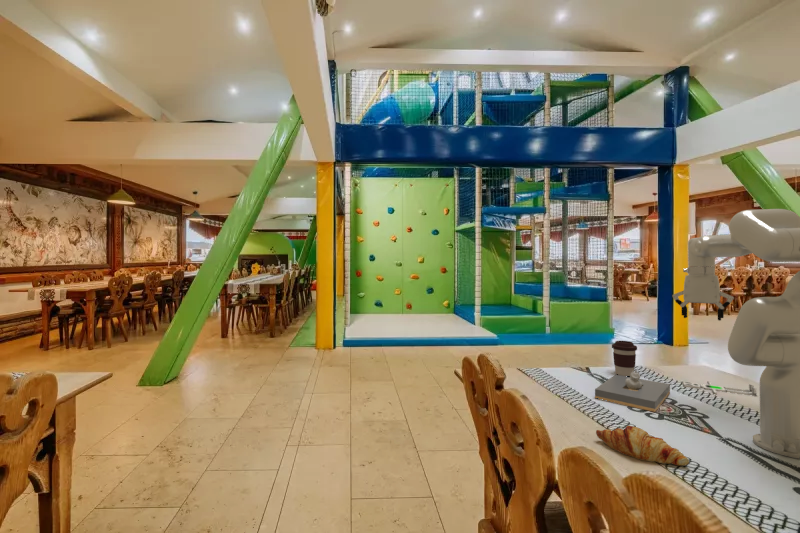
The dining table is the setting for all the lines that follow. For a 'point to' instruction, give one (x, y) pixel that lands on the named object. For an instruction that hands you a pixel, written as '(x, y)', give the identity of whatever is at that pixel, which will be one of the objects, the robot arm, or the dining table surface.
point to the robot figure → (720, 388)
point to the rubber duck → (633, 381)
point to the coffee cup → (624, 357)
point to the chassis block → (633, 393)
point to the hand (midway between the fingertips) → (702, 318)
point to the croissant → (641, 445)
